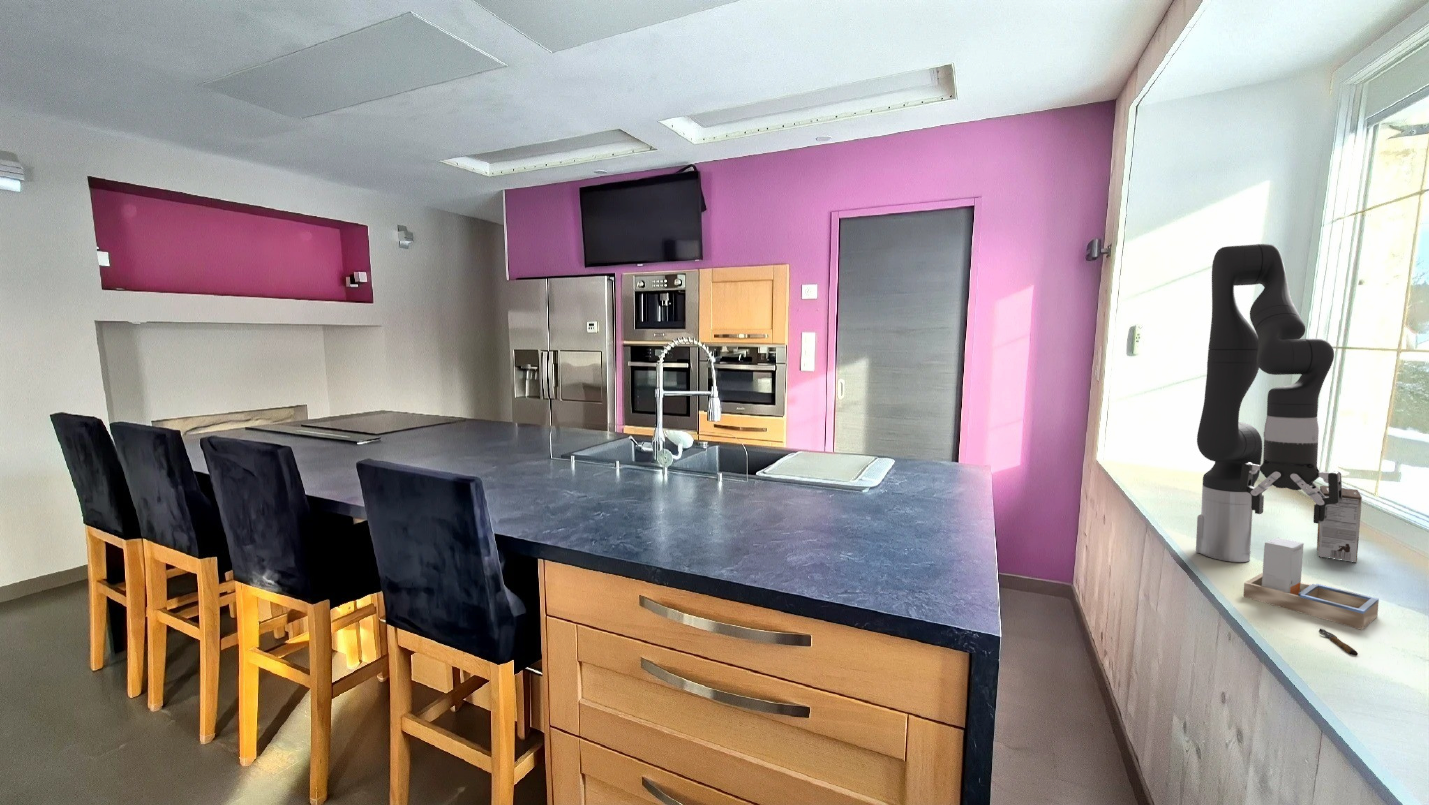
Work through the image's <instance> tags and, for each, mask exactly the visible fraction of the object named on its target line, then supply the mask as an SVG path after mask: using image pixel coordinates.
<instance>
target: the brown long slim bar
mask: <svg viewBox="0 0 1429 805" xmlns="http://www.w3.org/2000/svg"><path fill="white" fill-rule="evenodd" d="M1319 634H1320V635H1322V636H1324V637H1328V638H1329V640H1330V641H1331V642H1332V643H1334V644H1335V645H1337V646H1338V647H1339V648H1340V649H1341V650H1343V651H1344V652H1345V653H1348V654H1349V655H1351V656H1358V652H1357V651H1356V650H1355V649H1354V648H1353V647H1352V646H1350V645H1349V644H1347V643H1345V642H1343V641H1342V640H1341V639H1339V638H1338V636H1336V635H1335V634H1333V633H1332V632H1329V631H1327V630H1326V629H1325V628H1324V629H1323V628H1319Z"/></svg>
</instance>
